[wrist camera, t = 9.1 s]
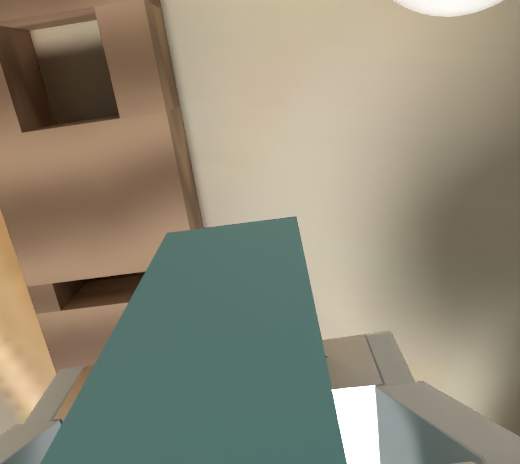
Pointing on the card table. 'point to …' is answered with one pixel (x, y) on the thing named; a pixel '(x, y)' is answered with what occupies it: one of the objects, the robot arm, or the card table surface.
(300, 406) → the peg
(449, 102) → the card table surface
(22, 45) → the socket block
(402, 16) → the card table surface
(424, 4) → the flower in vase
